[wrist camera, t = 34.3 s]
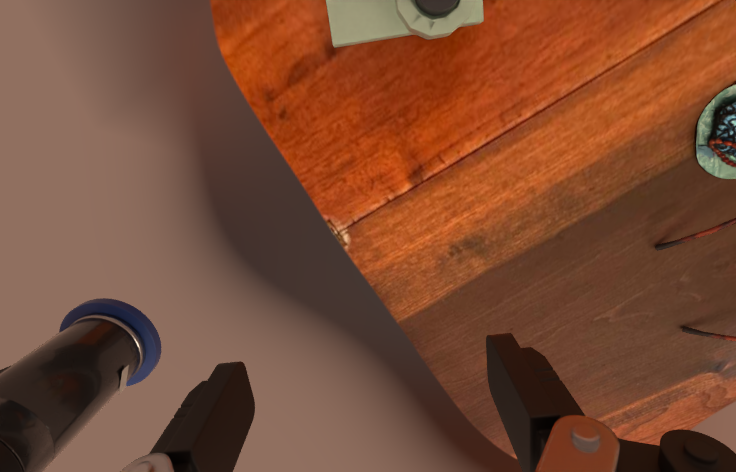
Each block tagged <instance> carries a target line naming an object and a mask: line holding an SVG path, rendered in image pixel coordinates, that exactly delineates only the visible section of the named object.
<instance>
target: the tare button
mask: <svg viewBox="0 0 736 472" xmlns="http://www.w3.org/2000/svg"><path fill="white" fill-rule="evenodd" d="M415 1H416V4H417V6H418V7H419V8H420V9H421V10H422V11H423V12H424V13H426V14H428V15H432V16H438V15H442V14H444V13H446V12H448V11H449V10H450V9H451V8H452V7H453V6H454V4H455V3H456V1H457V0H415Z"/></svg>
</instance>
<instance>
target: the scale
mask: <svg viewBox="0 0 736 472" xmlns="http://www.w3.org/2000/svg"><path fill="white" fill-rule="evenodd" d="M326 5H327V11H328V17H329V24H330V30H331V37H332V43H333V46H334V48H336V47H342V46H348V45H354V44H360V43H366V42H373V41H379V40H385V39H391V38H397V37H403V36H409V35H418V36H420V37H422V38H424V39H428V40H429V39H435V38H441V37H447V36H449V35H450V34H451V33H452V32H454V31H455V30H456V29H457V28H458V27H464V26H470V25H476V24H480V23H482V22H483V21H484V17H483V0H457V1H456V3H455V4H454V6H453V7H452V8H451V9H450V10H449V11H448V12H446V13H444V14H442V15H438V16H432V15H428V14H426V13H424V12H423V11H422V10H421V9H420V8H419V7H418V6H417V4H416V1H415V0H326Z"/></svg>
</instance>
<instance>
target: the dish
mask: <svg viewBox="0 0 736 472" xmlns="http://www.w3.org/2000/svg"><path fill="white" fill-rule="evenodd" d="M723 127H724V128H723ZM696 150H697V159H698V162H699V164H700V165H701V166H702V167H703V168H704V169H705V170H706V171H707V172H708V173H710V174H712V175H714V176H717V177H719V178H724V179H736V85H734V86H731V87H729V88H727V89H725V90H724V91H722V92H721V93H719V94H718V95H717V96H716V97H715V98H714V99H713V100H712V101H711V102H710V103H709V104H708V106H707V107H706V108H705V109H704V111H703V113H702V115H701V117H700V119H699V121H698V124H697V130H696Z"/></svg>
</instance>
